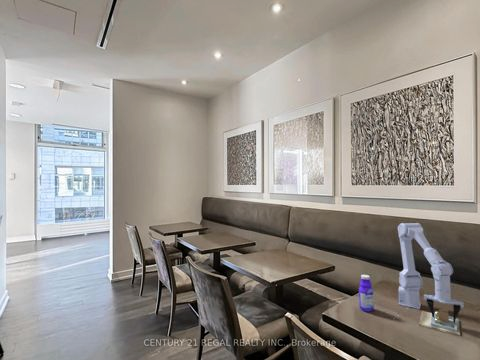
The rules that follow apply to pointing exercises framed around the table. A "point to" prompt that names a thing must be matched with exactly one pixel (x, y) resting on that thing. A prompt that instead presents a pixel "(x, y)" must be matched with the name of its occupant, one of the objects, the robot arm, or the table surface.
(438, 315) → the bosses
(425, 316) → the board
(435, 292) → the robot arm
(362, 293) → the bottle
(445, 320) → the panel
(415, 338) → the table surface
